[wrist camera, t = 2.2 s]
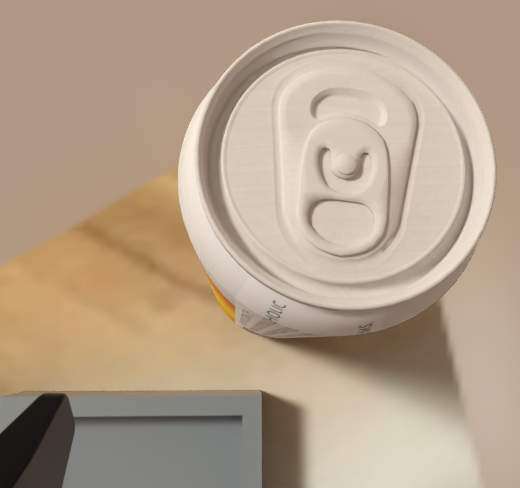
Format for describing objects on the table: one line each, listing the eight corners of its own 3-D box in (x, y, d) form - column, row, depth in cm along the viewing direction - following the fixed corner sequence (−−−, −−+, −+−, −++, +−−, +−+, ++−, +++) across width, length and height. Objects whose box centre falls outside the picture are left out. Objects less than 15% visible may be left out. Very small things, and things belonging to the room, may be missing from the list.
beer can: (342, 218, 24) (519, 21, 9) (334, 344, 23) (521, 353, 8) (219, 205, 24) (194, -19, 9) (204, 331, 22) (146, 314, 8)
